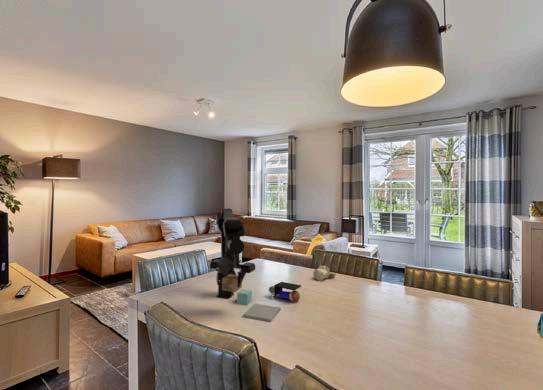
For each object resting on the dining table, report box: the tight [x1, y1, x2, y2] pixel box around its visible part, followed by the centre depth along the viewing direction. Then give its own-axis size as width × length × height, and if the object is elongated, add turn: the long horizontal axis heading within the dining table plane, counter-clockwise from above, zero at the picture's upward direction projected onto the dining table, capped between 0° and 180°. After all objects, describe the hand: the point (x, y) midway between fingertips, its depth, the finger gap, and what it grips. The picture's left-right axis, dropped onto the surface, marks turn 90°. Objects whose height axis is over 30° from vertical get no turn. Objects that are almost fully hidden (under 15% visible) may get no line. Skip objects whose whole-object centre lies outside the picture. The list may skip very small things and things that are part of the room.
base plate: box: [242, 303, 282, 323], centre depth 119 cm, size 12×12×1 cm
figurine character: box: [268, 281, 302, 303], centre depth 135 cm, size 7×8×15 cm
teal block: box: [236, 288, 253, 306], centre depth 130 cm, size 5×5×5 cm
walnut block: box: [222, 274, 243, 293], centre depth 119 cm, size 6×6×5 cm
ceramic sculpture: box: [312, 264, 337, 282], centre depth 167 cm, size 11×9×15 cm
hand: (232, 286), depth 119 cm, fingers closed on walnut block, 6 cm apart
